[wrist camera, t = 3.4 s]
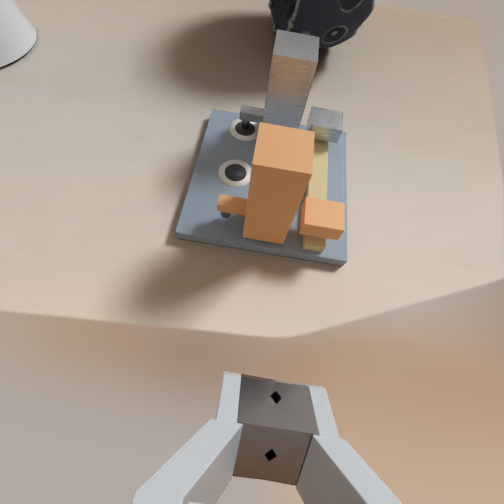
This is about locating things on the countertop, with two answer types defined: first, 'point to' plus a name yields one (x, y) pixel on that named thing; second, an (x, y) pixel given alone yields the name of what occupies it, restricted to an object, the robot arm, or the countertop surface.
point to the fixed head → (294, 89)
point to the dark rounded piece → (321, 18)
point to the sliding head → (283, 189)
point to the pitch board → (237, 185)
